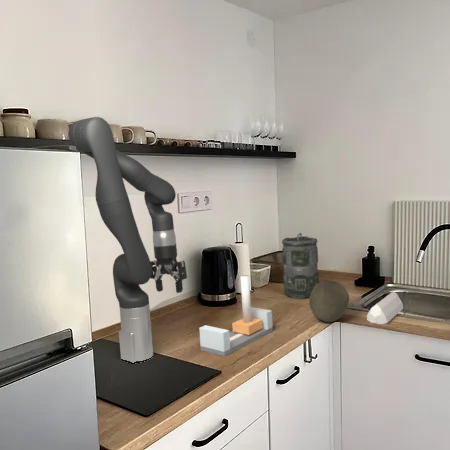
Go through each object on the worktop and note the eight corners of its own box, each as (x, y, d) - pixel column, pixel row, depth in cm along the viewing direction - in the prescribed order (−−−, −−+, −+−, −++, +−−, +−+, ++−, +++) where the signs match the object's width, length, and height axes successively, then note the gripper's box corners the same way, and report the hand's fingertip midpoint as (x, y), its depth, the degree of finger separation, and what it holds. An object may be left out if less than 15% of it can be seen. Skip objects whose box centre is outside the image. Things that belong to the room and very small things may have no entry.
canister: (317, 299, 201) (314, 235, 198) (281, 298, 206) (278, 236, 203) (321, 290, 216) (319, 231, 213) (287, 289, 221) (285, 231, 218)
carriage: (249, 335, 156) (246, 279, 154) (232, 331, 160) (229, 277, 158) (262, 328, 162) (259, 274, 160) (246, 325, 166) (243, 273, 164)
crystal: (380, 296, 187) (359, 312, 168) (396, 289, 183) (376, 304, 164) (390, 313, 185) (370, 331, 166) (406, 306, 181) (387, 323, 162)
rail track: (224, 356, 143) (223, 333, 143) (200, 350, 150) (199, 327, 149) (272, 331, 164) (271, 310, 163) (250, 326, 170) (249, 306, 170)
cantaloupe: (342, 329, 162) (340, 287, 160) (304, 324, 170) (302, 284, 168) (354, 317, 174) (353, 278, 172) (318, 313, 181) (317, 275, 180)
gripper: (141, 245, 155) (146, 293, 156) (173, 245, 147) (178, 295, 148) (156, 242, 161) (161, 288, 162) (188, 242, 153) (193, 290, 154)
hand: (169, 291), depth 155 cm, fingers open, 8 cm apart
